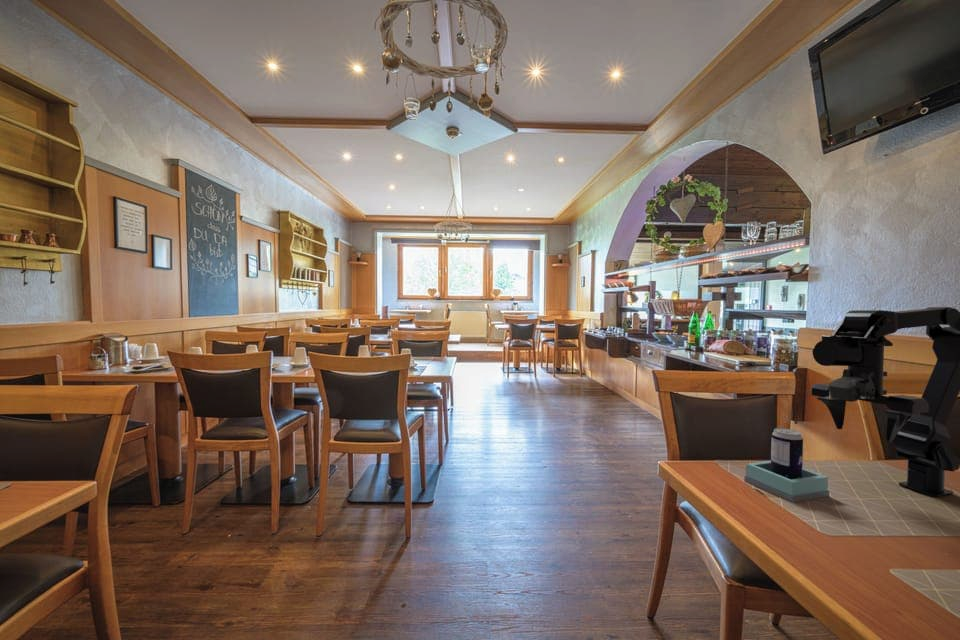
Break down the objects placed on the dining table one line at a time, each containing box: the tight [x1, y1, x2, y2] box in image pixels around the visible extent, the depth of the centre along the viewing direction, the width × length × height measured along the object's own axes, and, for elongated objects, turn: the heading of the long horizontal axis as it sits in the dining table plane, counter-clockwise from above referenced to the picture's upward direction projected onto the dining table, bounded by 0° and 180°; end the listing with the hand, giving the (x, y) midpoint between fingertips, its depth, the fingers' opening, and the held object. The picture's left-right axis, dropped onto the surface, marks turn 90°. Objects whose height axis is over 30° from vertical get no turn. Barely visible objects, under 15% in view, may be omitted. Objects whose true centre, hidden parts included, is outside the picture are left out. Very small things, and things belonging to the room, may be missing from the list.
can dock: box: [743, 460, 830, 503], centre depth 90 cm, size 11×11×4 cm
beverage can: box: [770, 427, 804, 480], centre depth 90 cm, size 6×6×12 cm
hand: (863, 435), depth 88 cm, fingers open, 9 cm apart
